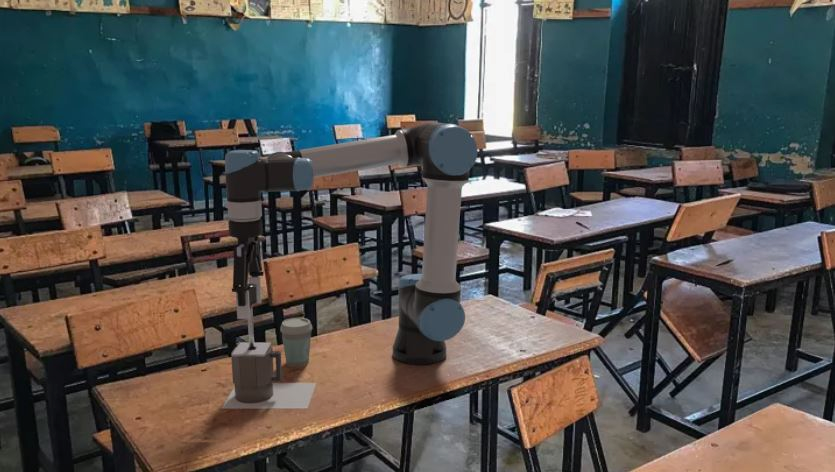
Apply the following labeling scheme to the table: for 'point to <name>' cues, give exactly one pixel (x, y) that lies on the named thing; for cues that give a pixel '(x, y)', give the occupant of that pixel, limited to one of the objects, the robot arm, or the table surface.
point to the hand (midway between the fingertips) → (249, 310)
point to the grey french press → (255, 372)
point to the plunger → (251, 313)
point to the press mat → (278, 397)
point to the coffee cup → (296, 341)
